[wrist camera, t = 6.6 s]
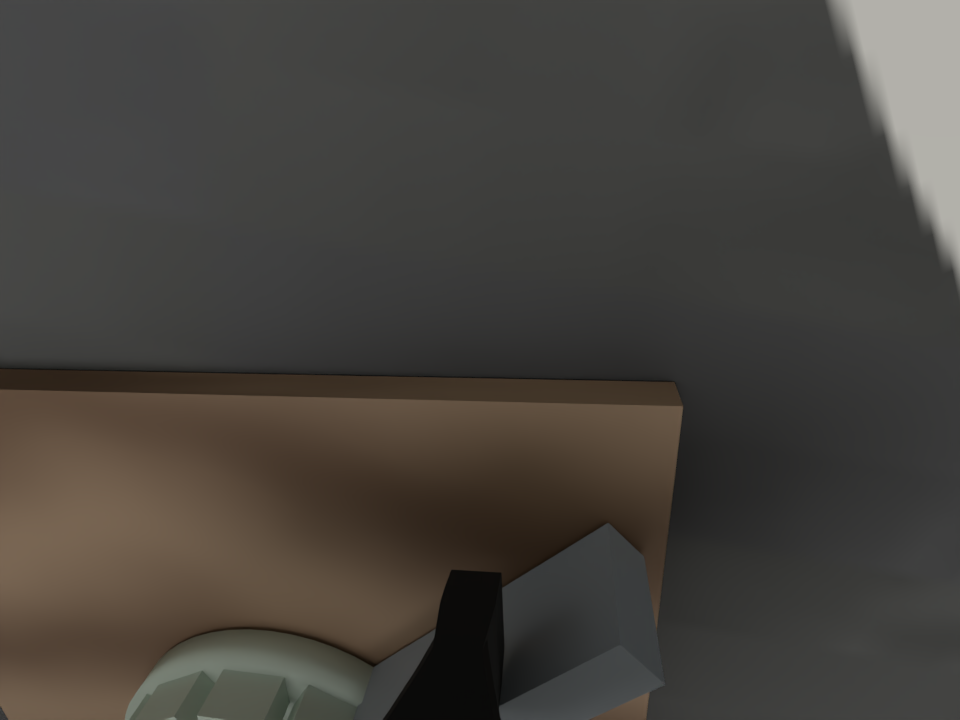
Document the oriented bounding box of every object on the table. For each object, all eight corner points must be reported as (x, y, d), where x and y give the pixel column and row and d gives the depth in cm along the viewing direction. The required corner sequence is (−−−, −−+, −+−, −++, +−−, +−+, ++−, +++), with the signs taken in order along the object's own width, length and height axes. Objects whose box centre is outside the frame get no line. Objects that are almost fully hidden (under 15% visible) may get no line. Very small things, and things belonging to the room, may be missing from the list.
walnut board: (622, 856, 20) (625, 893, 19) (87, 788, 22) (68, 817, 22) (674, 381, 12) (683, 406, 11) (-149, 365, 15) (-195, 384, 14)
